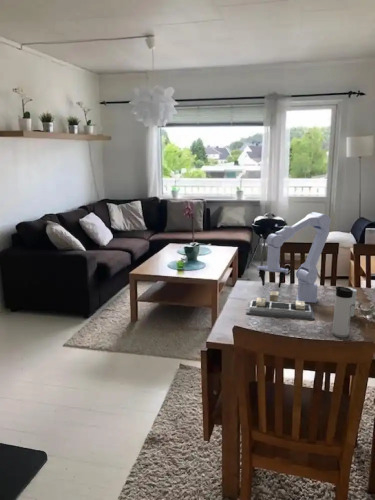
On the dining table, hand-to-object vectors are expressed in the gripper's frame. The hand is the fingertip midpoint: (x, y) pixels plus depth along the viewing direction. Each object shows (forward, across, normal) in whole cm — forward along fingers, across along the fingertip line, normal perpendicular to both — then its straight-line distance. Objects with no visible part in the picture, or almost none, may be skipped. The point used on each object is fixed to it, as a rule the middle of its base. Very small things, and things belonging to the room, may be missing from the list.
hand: (271, 286), depth 200 cm
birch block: (+9, +2, +2) cm, 9 cm away
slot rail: (+9, +6, -10) cm, 14 cm away
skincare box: (+8, +35, -2) cm, 36 cm away
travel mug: (+9, +32, -27) cm, 43 cm away
